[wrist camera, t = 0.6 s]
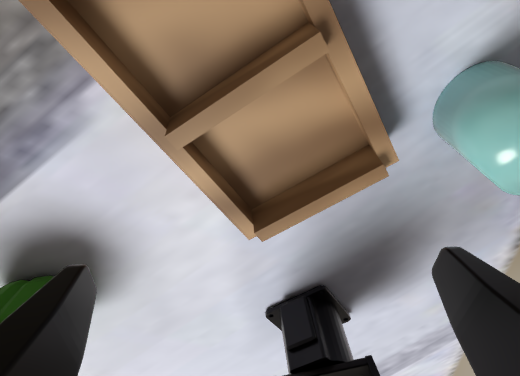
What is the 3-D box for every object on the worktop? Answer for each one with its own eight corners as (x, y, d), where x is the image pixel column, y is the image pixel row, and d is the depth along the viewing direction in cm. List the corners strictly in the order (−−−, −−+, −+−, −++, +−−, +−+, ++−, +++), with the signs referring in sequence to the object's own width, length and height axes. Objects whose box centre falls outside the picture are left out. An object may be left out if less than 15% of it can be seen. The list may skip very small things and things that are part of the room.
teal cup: (524, 115, 22) (609, 162, 17) (443, 156, 23) (501, 211, 19) (514, 41, 19) (614, 73, 14) (422, 94, 20) (485, 138, 16)
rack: (383, 142, 22) (404, 167, 20) (246, 217, 25) (249, 248, 22) (225, -206, 12) (226, -247, 10) (30, -21, 15) (-9, -15, 13)
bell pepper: (122, 294, 29) (83, 429, 21) (63, 332, 31) (8, 467, 23) (29, 243, 24) (-66, 389, 16) (-30, 292, 27) (-139, 440, 19)
